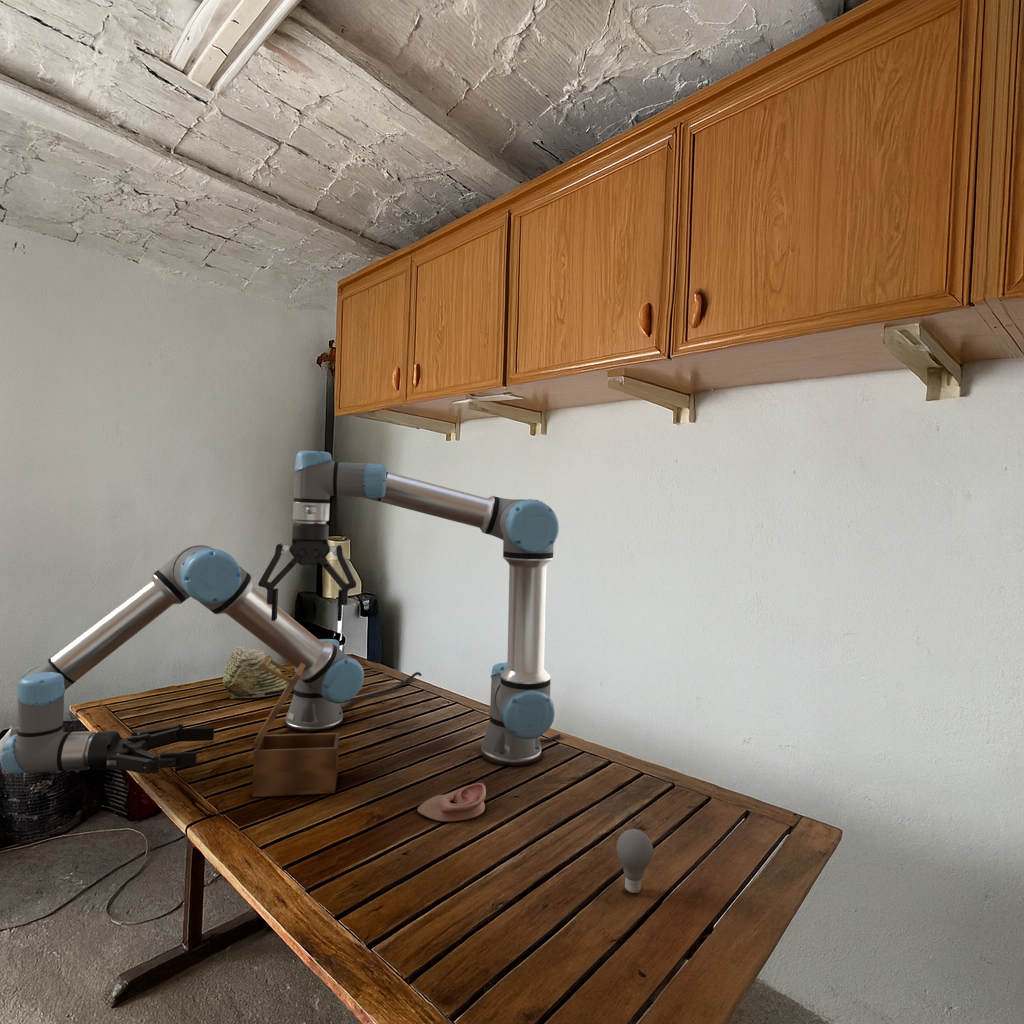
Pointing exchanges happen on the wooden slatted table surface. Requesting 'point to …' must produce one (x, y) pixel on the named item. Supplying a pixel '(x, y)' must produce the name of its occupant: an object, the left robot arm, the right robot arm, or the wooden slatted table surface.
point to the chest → (296, 764)
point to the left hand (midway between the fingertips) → (205, 745)
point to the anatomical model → (456, 804)
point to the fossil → (250, 675)
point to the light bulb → (634, 857)
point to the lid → (283, 697)
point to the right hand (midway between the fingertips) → (307, 619)
